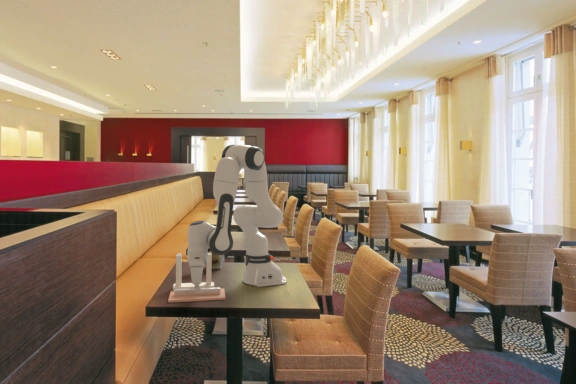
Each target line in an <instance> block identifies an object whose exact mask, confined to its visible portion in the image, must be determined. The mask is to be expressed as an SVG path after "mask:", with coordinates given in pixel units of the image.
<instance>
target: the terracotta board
mask: <svg viewBox="0 0 576 384" xmlns="http://www.w3.org/2000/svg"><path fill="white" fill-rule="evenodd" d="M226 299H227V298H226V291H225V288H223V287H222V288H221V290H220V294H208V295H188V296H174V290H170V293H169V296H168V299H167V302H168V303H169V304H170V303H183V302H186V303H189V302H203V301H204V302H205V301H206V302H207V301H224V300H226Z"/></svg>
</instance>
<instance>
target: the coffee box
mask: <svg viewBox="0 0 576 384" xmlns="http://www.w3.org/2000/svg"><path fill="white" fill-rule="evenodd" d="M208 253H212V269H214V270H215V269H216V270H221V269H223V268H224V267H225V255H216V254H214V253H213V252H212V251H211V249H210V248H209V249H208ZM206 264H207V262H206V263H205V265H206Z"/></svg>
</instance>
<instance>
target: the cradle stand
mask: <svg viewBox="0 0 576 384" xmlns="http://www.w3.org/2000/svg"><path fill="white" fill-rule="evenodd" d="M182 260H183V254H182V253H176V255H175V283H173V284H172V291H174V289H185V288H195V285H194V284H192V282H182V281H183V280H182V277H183V276H182V269H183V268H182V266H183V265H182V262H183V261H182ZM205 268H206V270H205V272H206V273H205V274H206V277H205V280H206V281H205V282H204V281H203V282H202V281H201V284H199V288H207V287H215V282H214V281H212V253H208V261H207V264H206V263H205Z"/></svg>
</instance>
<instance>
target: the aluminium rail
mask: <svg viewBox="0 0 576 384" xmlns="http://www.w3.org/2000/svg"><path fill="white" fill-rule="evenodd" d="M221 289H222V288H221V287H220V286H214V287H207V288H199V292H195V288H185V289H174V290H173V291H174V296H188V295H208V294H220V290H221Z"/></svg>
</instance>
